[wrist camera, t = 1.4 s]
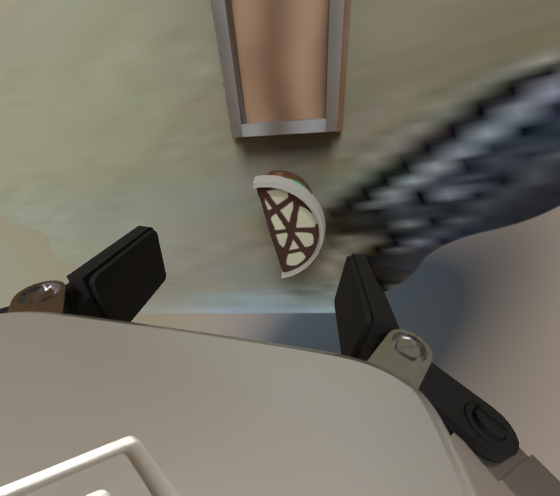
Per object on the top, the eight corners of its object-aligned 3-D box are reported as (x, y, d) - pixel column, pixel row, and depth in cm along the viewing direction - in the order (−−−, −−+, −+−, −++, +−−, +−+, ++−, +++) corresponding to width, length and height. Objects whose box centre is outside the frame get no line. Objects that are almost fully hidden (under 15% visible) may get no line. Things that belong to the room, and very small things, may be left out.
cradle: (357, -126, 18) (366, -174, 15) (340, 130, 27) (344, 133, 24) (200, -95, 20) (179, -132, 17) (235, 137, 29) (226, 140, 26)
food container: (328, 234, 35) (334, 275, 26) (288, 240, 36) (282, 281, 28) (314, 148, 29) (315, 166, 20) (267, 160, 30) (250, 182, 22)
